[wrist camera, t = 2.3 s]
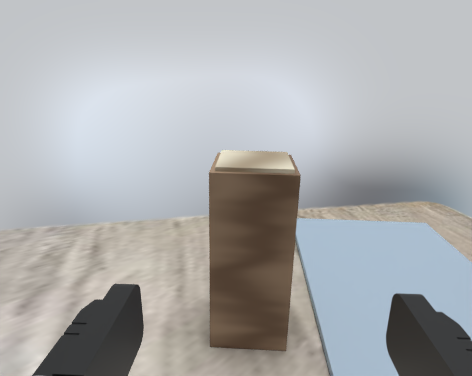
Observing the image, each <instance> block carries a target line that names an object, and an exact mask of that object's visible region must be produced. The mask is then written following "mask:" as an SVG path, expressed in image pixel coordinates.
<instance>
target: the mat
mask: <svg viewBox="0 0 472 376" xmlns="http://www.w3.org/2000/svg"><path fill="white" fill-rule="evenodd" d="M295 239H296V243H297V247H298V251H299V255H300V259H301V263H302V267H303V271H304V275H305V278H306V282H307V286H308V290H309V294H310V298H311V302H312V306H313V310H314V314H315V318H316V321H317V325H318V329H319V333H320V337H321V341H322V345H323V349H324V353H325V357H326V361H327V365H328V368H329V372H330V376H399V375H398V373H397V371H396V369H395V367H394V364H393V362H392V360H391V358H390V356H389V354H388V350H387V345H386V331H387V326H388V320H389V314H390V308H391V302H392V297H393V295H394V294H396V293H401V294H421V295H423V296H424V297H425V298H426V299H427V301H428V302H429V303H430V304H431V306H432V307H433V308H434V310H435V311H436V312H443V313H444V314H446V315H447V316H448V317H450V318H451V319H453V320H454V321H456V322H457V323H458V324H459V325H460V326H461V327H462V328H463V329H464V331H465V332H466V333H467V334H468V335H469V337H470V338H471V341H472V263H471V262H470V261H469V260H468V259H467V258H466V257H465V256H463V255H462V254H461V253H460V252H459V251H458V250H456V249H455V248H454V247H453V246H452V245H451V244H450V243H448V242H447V241H446V240H445V239H444V238H443V237H441V236H440V235H439V234H438V233H437V232H436V231H435V230H433V229H432V228H431V227H430V226H429V225H428V224H426V223H414V222H386V221H359V220H331V219H303V218H297V224H296V236H295Z"/></svg>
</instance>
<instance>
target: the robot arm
mask: <svg viewBox="0 0 472 376" xmlns="http://www.w3.org/2000/svg"><path fill="white" fill-rule="evenodd" d="M143 328H144V325H143V314H142V303H141V293H140V287H139V285H135V284H114V285H113V286H112V287H111V288H110V290H109V291H108V293H107V294H106V296H105V297H104V299H103V300H94V301H93V302H91V303H90V304H89V305H87V306H86V307H84V308H83V309H82V310H81V311H80V312H79V313H78V315H77V316H76V317H75V319H74V320H73V321H72V325H70V326H69V327H68V328H67V330H66V331H65V332H64V335H63V336H61V338H60V339H59V340H58V342H57V343H56V344H55V346H54V347H53V348H52V350H51V351H50V352H49V354H48V355H47V356H46V358H45V359H44V360H43V362H42V363H41V364H40V366H39V367H38V369H37V370H36V371H35V373H34V374H33V375H32V376H128V374H129V371H130V369H131V366H132V364H133V362H134V359H135V357H136V355H137V352H138V350H139V348H140V345H141V342H142V337H143ZM386 345H387V350H388V354H389V356H390V358H391V360H392V362H393V364H394V367H395V369H396V371H397V373H398V375H399V376H472V341H471V338H470V337H469V335H468V334H467V333H466V332H465V331H464V329H463V328H462V327H461V326H460V325H459V324H458V323H457V322H456V321H454V320H453V319H451V318H450V317H448V316H447V315H446V314H444V313H443V312H436V311H435V310H434V308H433V307H432V306H431V304H430V303H429V302H428V301H427V299H426V298H425V297H424V296H423V295H421V294H401V293H396V294H394V295H393V297H392V302H391V308H390V314H389V320H388V326H387V331H386Z"/></svg>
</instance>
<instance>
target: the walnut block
mask: <svg viewBox="0 0 472 376" xmlns="http://www.w3.org/2000/svg"><path fill="white" fill-rule="evenodd" d="M299 187H300V173H299V171H298V169H297V167H296V165H295V163H294V160H293V158H292V156H291V155H288V153H287V152H267V151H265V152H264V151H233V150H222V151H221V153H218V154H217V156H216V158H215V161H214V163H213V165H212V167H211V170H210V172H209V236H210V347H221V348H241V349H260V350H279V351H286V344H287V332H288V320H289V308H290V296H291V284H292V272H293V260H294V248H295V236H296V224H297V212H298V200H299Z"/></svg>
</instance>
